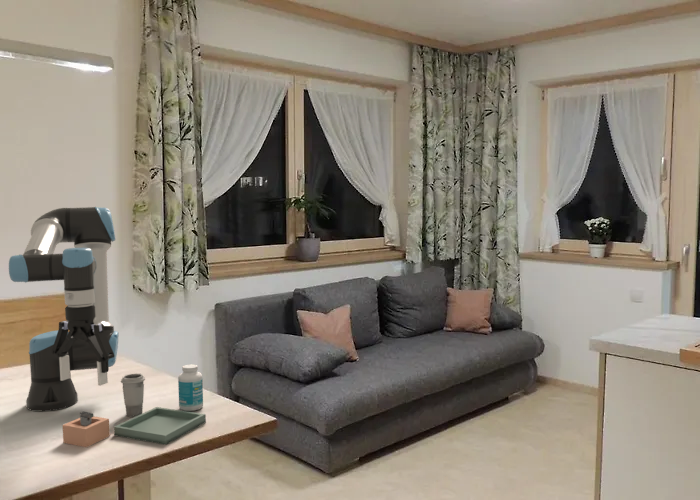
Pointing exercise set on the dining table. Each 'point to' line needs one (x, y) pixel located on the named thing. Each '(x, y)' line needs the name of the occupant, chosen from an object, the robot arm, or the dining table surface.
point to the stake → (85, 418)
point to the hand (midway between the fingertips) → (83, 381)
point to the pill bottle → (190, 388)
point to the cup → (133, 393)
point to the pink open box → (86, 432)
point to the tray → (160, 425)
